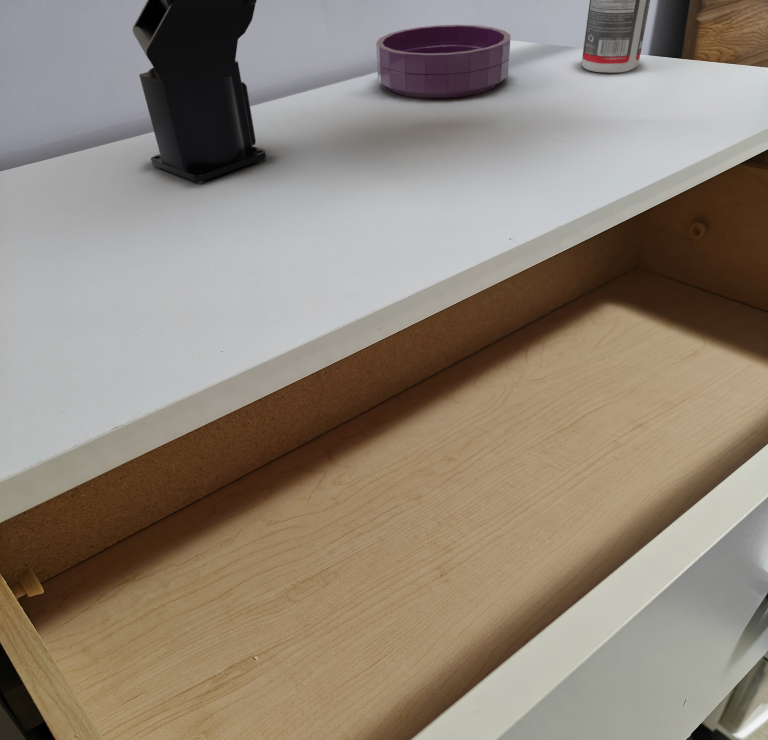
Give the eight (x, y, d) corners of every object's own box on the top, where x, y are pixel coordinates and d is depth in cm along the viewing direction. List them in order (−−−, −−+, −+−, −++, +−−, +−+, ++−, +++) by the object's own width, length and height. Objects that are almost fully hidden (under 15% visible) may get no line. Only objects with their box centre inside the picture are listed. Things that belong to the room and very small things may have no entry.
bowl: (449, 108, 59) (450, 61, 56) (352, 87, 65) (349, 44, 62) (533, 77, 64) (537, 33, 62) (437, 60, 71) (437, 20, 68)
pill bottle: (604, 57, 68) (624, -70, 61) (649, 65, 65) (675, -68, 58) (568, 68, 66) (585, -63, 59) (614, 77, 63) (637, -60, 56)
